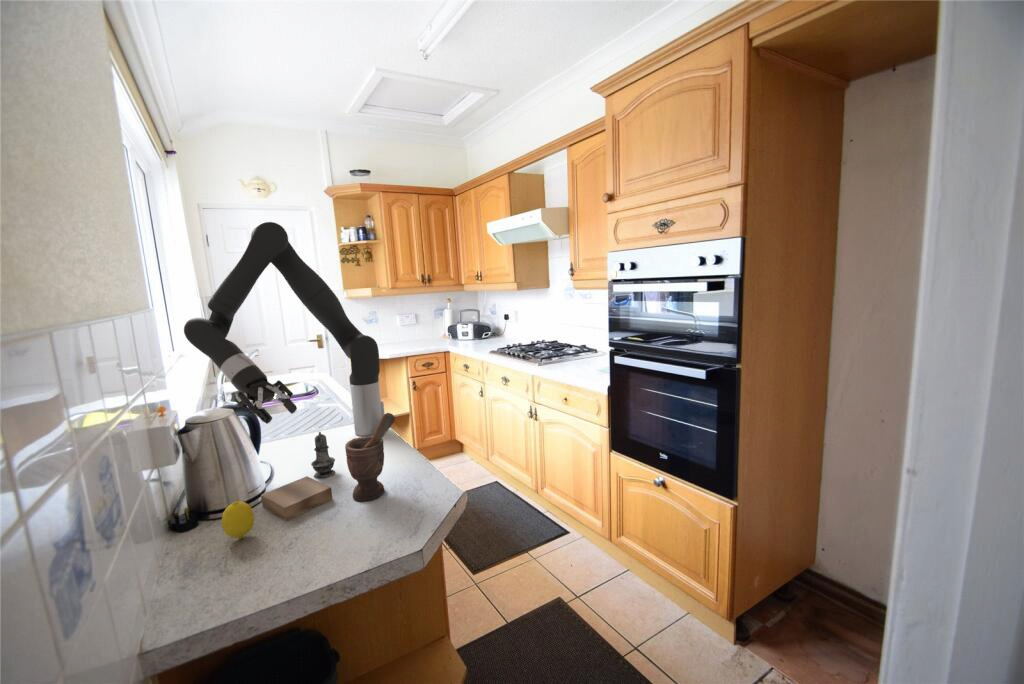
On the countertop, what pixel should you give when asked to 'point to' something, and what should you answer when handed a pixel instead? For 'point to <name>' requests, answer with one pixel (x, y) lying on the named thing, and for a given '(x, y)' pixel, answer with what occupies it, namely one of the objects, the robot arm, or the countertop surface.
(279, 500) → the walnut plinth
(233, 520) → the lemon
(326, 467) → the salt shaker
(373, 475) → the mortar and pestle
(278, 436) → the countertop surface
